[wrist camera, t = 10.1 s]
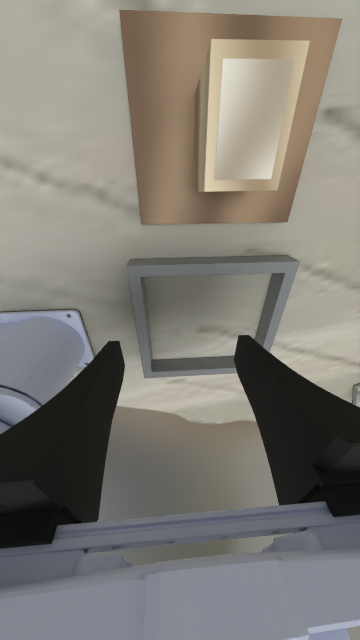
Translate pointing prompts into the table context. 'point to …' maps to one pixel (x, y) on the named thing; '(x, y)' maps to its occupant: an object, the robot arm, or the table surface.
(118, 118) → the table surface
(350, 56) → the table surface
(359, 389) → the handheld gaming console
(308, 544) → the robot arm
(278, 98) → the maple block
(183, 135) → the walnut board
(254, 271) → the grey bin
